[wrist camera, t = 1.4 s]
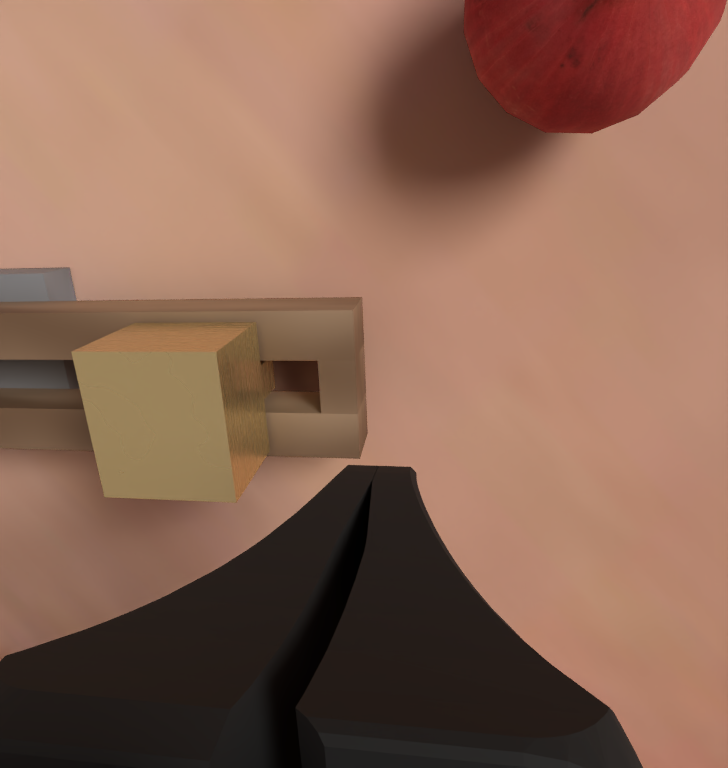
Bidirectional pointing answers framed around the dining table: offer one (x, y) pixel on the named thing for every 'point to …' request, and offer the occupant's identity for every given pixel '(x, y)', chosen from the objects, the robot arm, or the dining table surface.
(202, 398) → the block
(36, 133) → the dining table surface
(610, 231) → the dining table surface
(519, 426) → the dining table surface
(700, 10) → the onion
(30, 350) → the beam
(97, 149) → the dining table surface
